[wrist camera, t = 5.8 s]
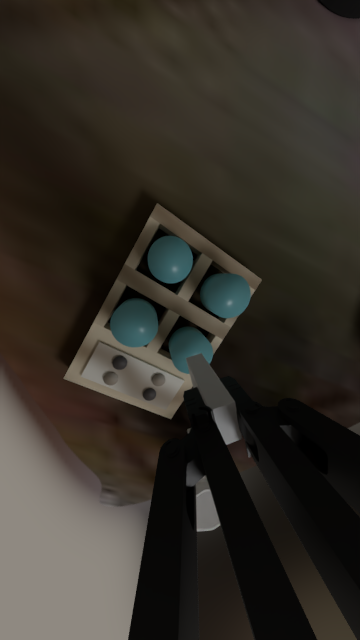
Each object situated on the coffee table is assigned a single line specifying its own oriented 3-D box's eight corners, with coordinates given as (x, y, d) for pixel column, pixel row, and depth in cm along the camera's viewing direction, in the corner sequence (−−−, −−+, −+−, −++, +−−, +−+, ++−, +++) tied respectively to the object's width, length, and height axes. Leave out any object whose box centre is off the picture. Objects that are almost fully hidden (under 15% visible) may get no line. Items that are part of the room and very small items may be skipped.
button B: (213, 265, 20) (224, 264, 17) (243, 286, 21) (258, 288, 18) (192, 300, 20) (199, 304, 17) (223, 318, 22) (234, 325, 19)
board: (156, 210, 19) (157, 201, 17) (252, 279, 23) (264, 279, 21) (70, 369, 22) (61, 381, 20) (169, 408, 26) (171, 422, 23)
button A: (160, 232, 20) (162, 225, 17) (193, 255, 21) (201, 252, 18) (140, 268, 20) (139, 267, 17) (174, 289, 21) (178, 291, 18)
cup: (174, 469, 29) (184, 541, 21) (162, 419, 26) (168, 480, 18) (216, 456, 30) (240, 521, 22) (208, 406, 27) (232, 460, 19)
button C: (128, 290, 19) (124, 293, 16) (164, 310, 20) (166, 316, 17) (108, 325, 20) (101, 334, 17) (144, 343, 21) (144, 354, 18)
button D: (180, 319, 21) (186, 327, 18) (211, 337, 22) (220, 346, 19) (161, 351, 21) (163, 363, 18) (192, 366, 22) (198, 380, 20)
